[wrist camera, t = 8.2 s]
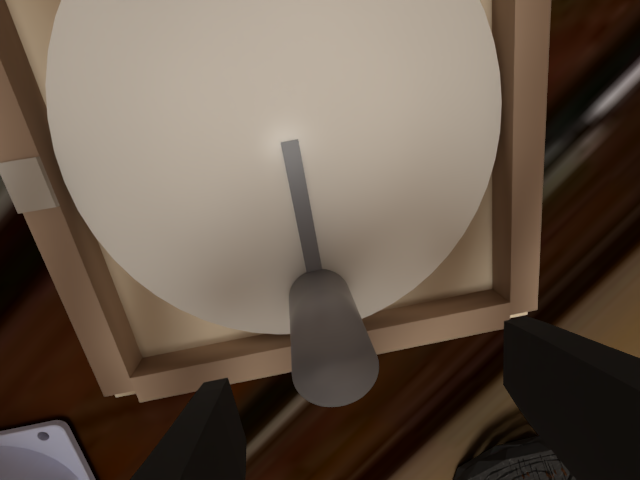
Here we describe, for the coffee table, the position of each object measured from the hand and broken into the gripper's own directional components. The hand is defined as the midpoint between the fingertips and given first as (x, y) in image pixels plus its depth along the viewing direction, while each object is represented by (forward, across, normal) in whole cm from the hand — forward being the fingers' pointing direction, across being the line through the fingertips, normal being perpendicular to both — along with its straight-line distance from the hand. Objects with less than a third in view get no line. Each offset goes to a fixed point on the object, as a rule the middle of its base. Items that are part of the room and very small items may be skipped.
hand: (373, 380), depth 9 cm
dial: (+6, +1, -6) cm, 9 cm away
